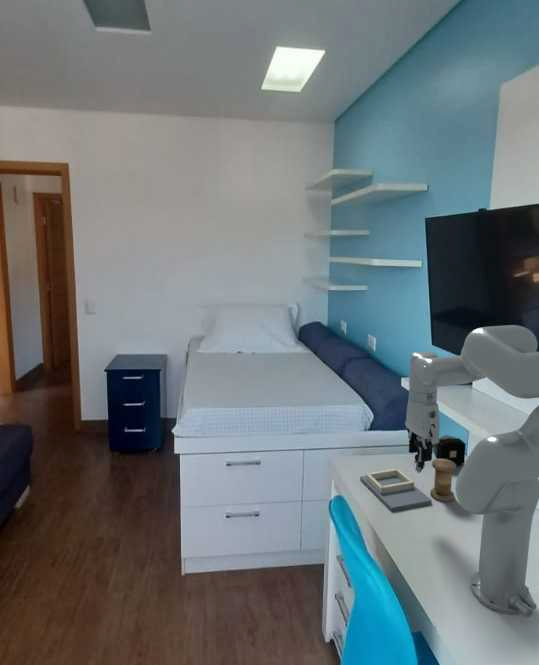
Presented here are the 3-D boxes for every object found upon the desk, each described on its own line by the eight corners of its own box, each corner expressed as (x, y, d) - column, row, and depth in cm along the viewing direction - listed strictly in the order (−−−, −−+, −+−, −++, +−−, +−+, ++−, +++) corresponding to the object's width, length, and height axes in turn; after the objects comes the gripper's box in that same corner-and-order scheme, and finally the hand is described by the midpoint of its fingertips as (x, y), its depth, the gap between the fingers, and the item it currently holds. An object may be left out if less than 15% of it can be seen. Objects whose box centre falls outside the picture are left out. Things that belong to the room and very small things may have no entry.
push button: (427, 476, 131) (433, 444, 129) (408, 472, 133) (413, 440, 131) (428, 465, 137) (433, 434, 135) (410, 461, 139) (414, 430, 137)
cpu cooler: (457, 459, 173) (459, 433, 171) (466, 466, 168) (468, 440, 166) (431, 461, 172) (432, 435, 170) (438, 468, 166) (440, 442, 165)
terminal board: (431, 503, 144) (432, 494, 143) (391, 511, 140) (391, 501, 139) (396, 474, 163) (396, 465, 162) (360, 479, 159) (360, 471, 158)
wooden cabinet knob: (458, 499, 146) (460, 467, 144) (439, 503, 144) (441, 470, 142) (444, 488, 153) (446, 457, 151) (425, 492, 151) (427, 460, 149)
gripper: (454, 403, 124) (450, 467, 127) (416, 386, 140) (414, 443, 143) (429, 406, 122) (426, 471, 125) (394, 388, 138) (392, 446, 141)
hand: (420, 455), depth 134 cm, fingers closed on push button, 5 cm apart
